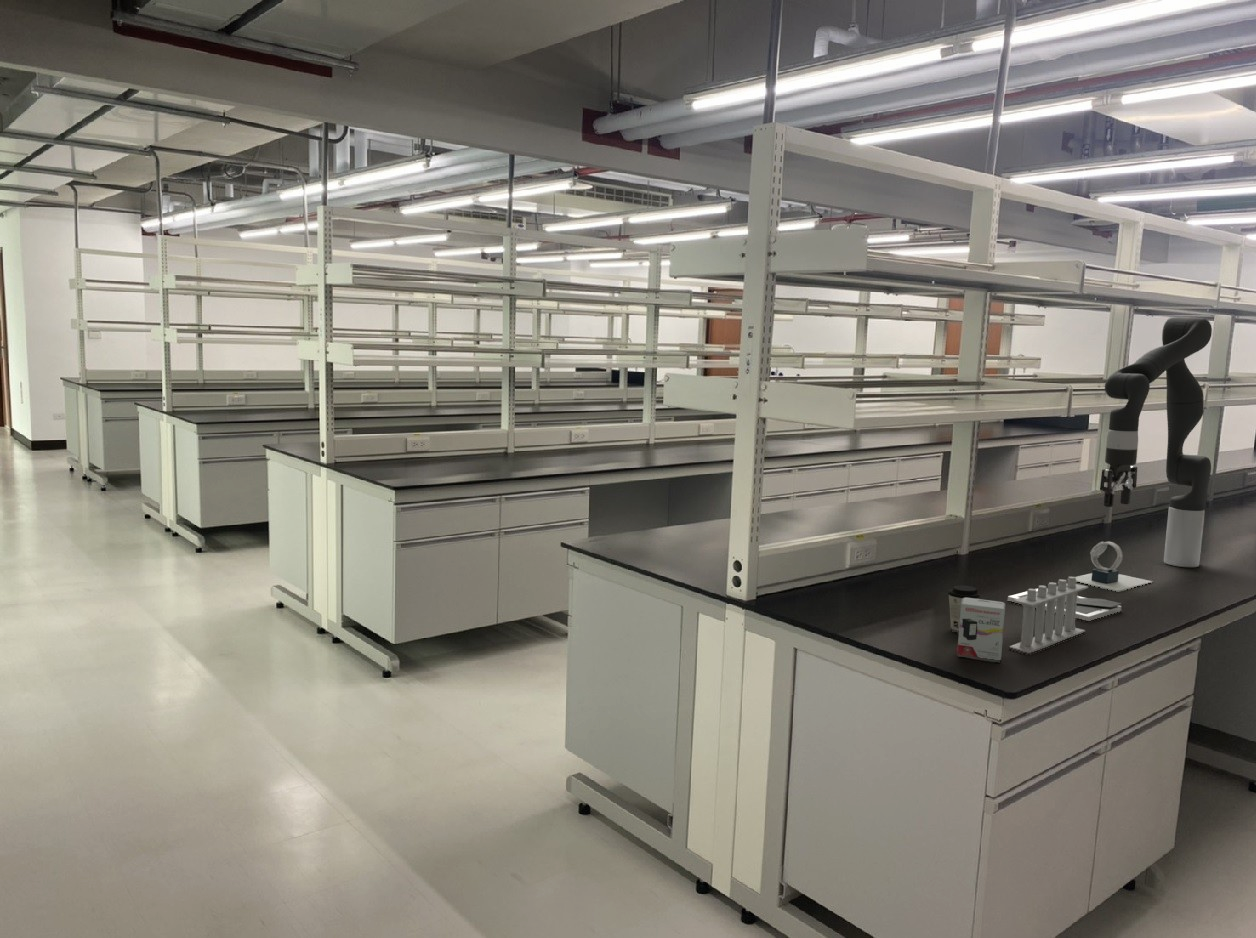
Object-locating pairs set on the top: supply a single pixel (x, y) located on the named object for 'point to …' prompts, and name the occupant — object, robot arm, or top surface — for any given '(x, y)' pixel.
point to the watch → (1101, 572)
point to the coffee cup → (959, 602)
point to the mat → (1121, 585)
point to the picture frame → (1084, 606)
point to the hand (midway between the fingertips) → (1116, 505)
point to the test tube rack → (1049, 615)
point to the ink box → (981, 628)
